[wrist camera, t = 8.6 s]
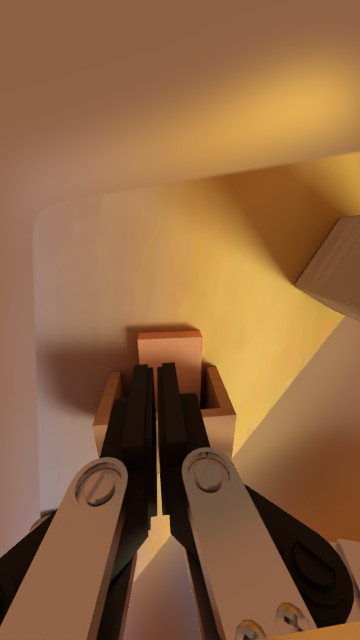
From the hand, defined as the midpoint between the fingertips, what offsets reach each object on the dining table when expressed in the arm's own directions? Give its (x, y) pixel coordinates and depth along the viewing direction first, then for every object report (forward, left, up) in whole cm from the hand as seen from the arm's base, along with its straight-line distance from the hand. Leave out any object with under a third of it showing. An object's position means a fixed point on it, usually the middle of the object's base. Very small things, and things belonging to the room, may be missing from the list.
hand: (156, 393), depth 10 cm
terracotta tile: (-11, -1, -16) cm, 19 cm away
